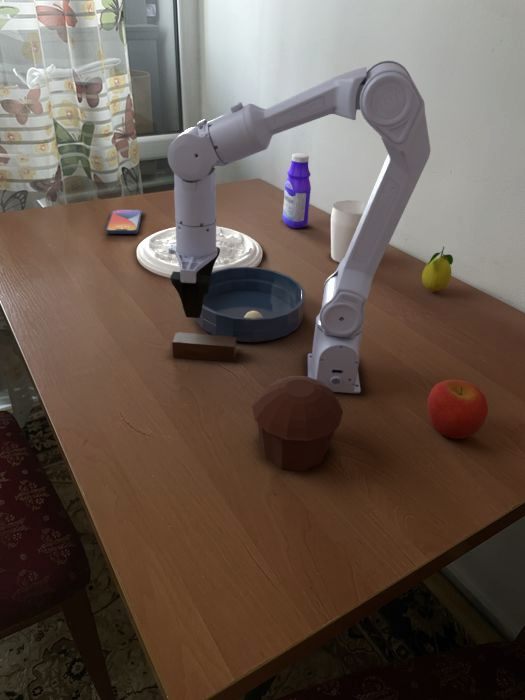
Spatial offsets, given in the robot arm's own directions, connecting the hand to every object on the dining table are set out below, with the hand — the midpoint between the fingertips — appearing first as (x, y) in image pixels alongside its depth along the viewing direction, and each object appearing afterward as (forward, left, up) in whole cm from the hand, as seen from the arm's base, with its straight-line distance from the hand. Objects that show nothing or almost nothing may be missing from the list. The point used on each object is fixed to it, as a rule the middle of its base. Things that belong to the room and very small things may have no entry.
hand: (197, 304), depth 85 cm
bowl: (+14, -7, -9) cm, 18 cm away
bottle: (+62, -15, -10) cm, 65 cm away
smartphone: (+54, +27, -9) cm, 61 cm away
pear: (+29, -44, -10) cm, 54 cm away
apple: (-14, -38, -10) cm, 42 cm away
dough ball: (+8, -8, -7) cm, 14 cm away
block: (0, -1, -9) cm, 9 cm away
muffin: (-20, -16, -10) cm, 27 cm away
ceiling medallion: (+40, +6, -10) cm, 42 cm away
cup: (+43, -27, -10) cm, 52 cm away
